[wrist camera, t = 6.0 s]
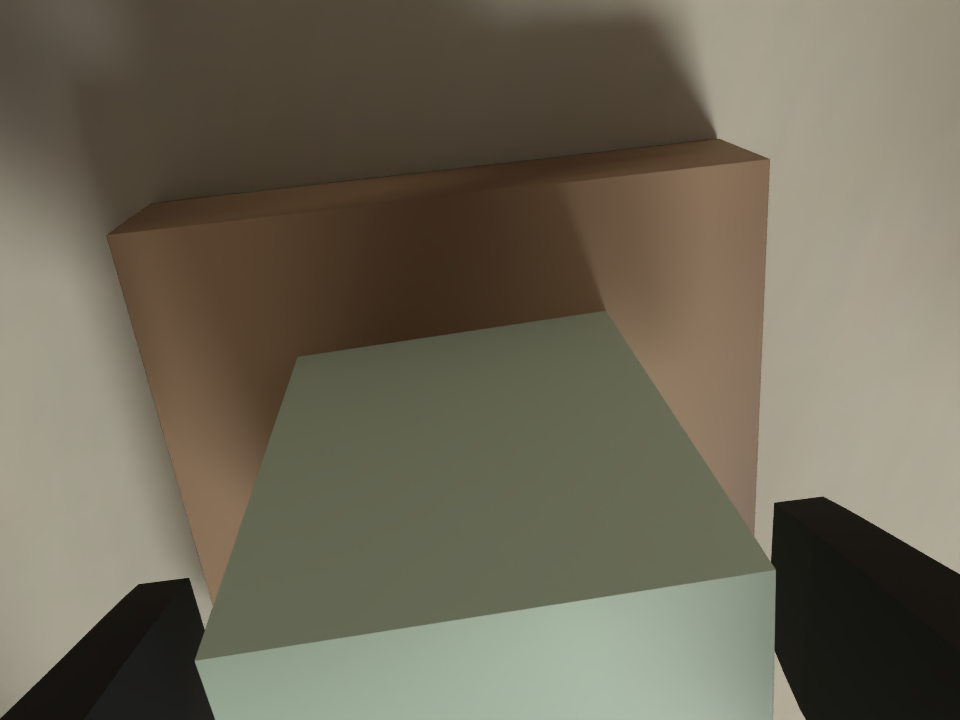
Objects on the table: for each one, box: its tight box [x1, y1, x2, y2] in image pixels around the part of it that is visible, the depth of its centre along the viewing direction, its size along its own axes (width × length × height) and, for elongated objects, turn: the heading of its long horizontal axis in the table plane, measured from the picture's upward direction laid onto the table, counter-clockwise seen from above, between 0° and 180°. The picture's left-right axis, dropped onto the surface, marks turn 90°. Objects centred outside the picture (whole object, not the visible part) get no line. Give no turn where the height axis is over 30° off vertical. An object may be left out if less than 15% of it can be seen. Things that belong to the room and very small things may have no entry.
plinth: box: [106, 139, 770, 605], centre depth 14 cm, size 9×9×2 cm
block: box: [195, 311, 776, 720], centre depth 10 cm, size 4×4×6 cm
